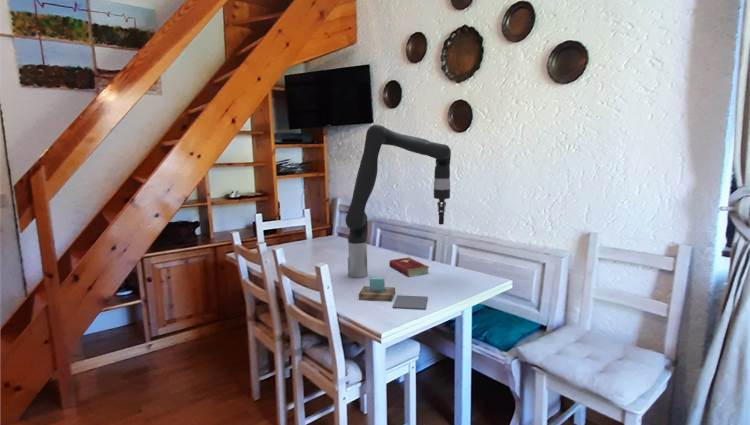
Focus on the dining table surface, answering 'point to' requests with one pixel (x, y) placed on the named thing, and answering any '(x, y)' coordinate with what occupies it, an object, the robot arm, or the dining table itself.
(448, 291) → the dining table surface
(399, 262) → the hardcover book
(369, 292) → the brown wooden frame
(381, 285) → the teal rectangular prism
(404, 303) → the mat
